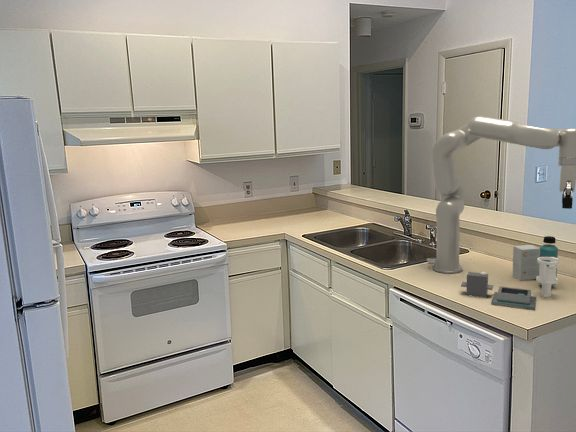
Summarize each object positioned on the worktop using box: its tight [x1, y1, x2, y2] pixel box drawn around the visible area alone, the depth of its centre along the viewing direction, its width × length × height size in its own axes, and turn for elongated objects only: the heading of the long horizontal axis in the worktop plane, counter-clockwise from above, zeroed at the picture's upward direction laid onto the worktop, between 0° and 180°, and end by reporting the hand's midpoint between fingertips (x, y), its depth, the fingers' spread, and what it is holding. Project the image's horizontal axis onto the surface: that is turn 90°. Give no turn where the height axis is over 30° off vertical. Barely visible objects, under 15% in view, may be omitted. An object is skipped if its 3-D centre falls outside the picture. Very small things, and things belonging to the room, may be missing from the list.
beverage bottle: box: [538, 235, 559, 287], centre depth 188 cm, size 6×7×20 cm
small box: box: [511, 244, 540, 281], centre depth 200 cm, size 8×6×13 cm
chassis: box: [490, 286, 537, 311], centre depth 176 cm, size 14×11×4 cm
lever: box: [460, 271, 495, 298], centre depth 185 cm, size 11×4×9 cm, turn 61°
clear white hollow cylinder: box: [535, 257, 560, 298], centre depth 180 cm, size 7×7×15 cm
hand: (566, 206), depth 188 cm, fingers open, 9 cm apart
